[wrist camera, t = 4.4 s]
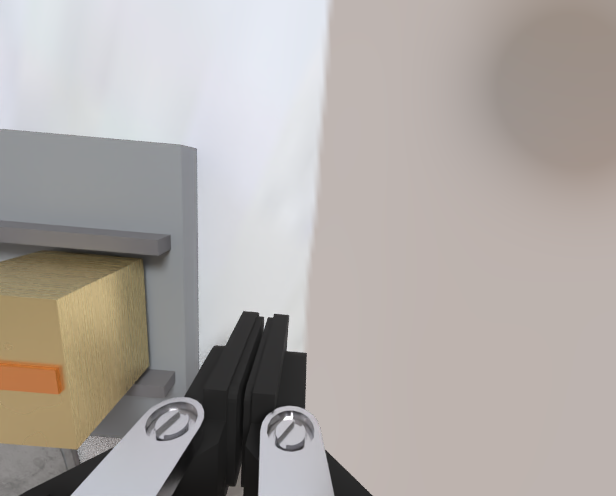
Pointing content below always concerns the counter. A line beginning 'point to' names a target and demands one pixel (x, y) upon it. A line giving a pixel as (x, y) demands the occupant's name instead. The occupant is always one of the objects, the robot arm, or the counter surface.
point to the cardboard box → (67, 343)
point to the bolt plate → (114, 237)
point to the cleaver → (32, 466)
